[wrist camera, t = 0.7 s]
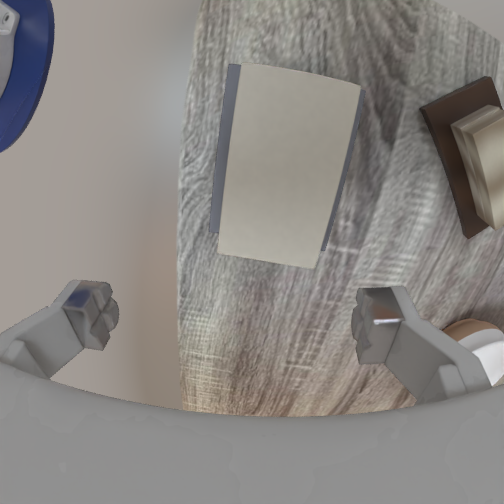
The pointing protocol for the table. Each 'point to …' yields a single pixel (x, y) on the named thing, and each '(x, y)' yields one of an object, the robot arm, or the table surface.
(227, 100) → the grey books
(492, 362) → the bowl
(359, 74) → the table surface
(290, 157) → the white book
